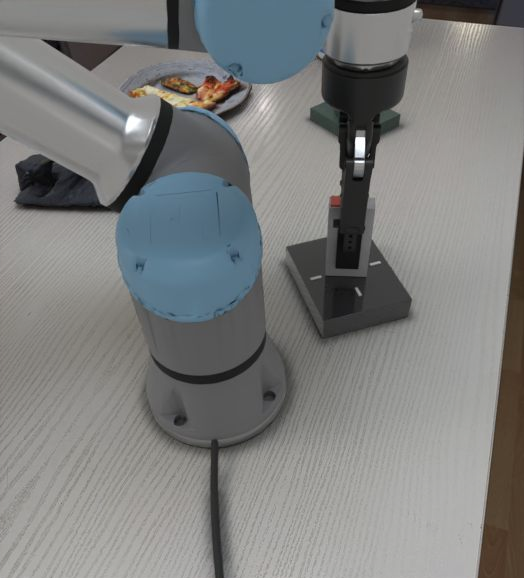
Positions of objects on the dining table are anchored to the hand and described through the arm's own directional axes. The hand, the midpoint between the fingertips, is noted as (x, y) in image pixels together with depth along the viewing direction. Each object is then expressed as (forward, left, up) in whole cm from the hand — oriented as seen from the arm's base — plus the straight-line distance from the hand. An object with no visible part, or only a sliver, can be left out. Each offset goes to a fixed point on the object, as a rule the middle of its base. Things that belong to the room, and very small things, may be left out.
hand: (346, 258), depth 65 cm
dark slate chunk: (+35, +29, -5) cm, 46 cm away
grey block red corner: (0, 0, -2) cm, 2 cm away
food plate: (+58, +9, -5) cm, 59 cm away
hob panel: (0, 0, -5) cm, 5 cm away
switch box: (+38, -17, -5) cm, 42 cm away
